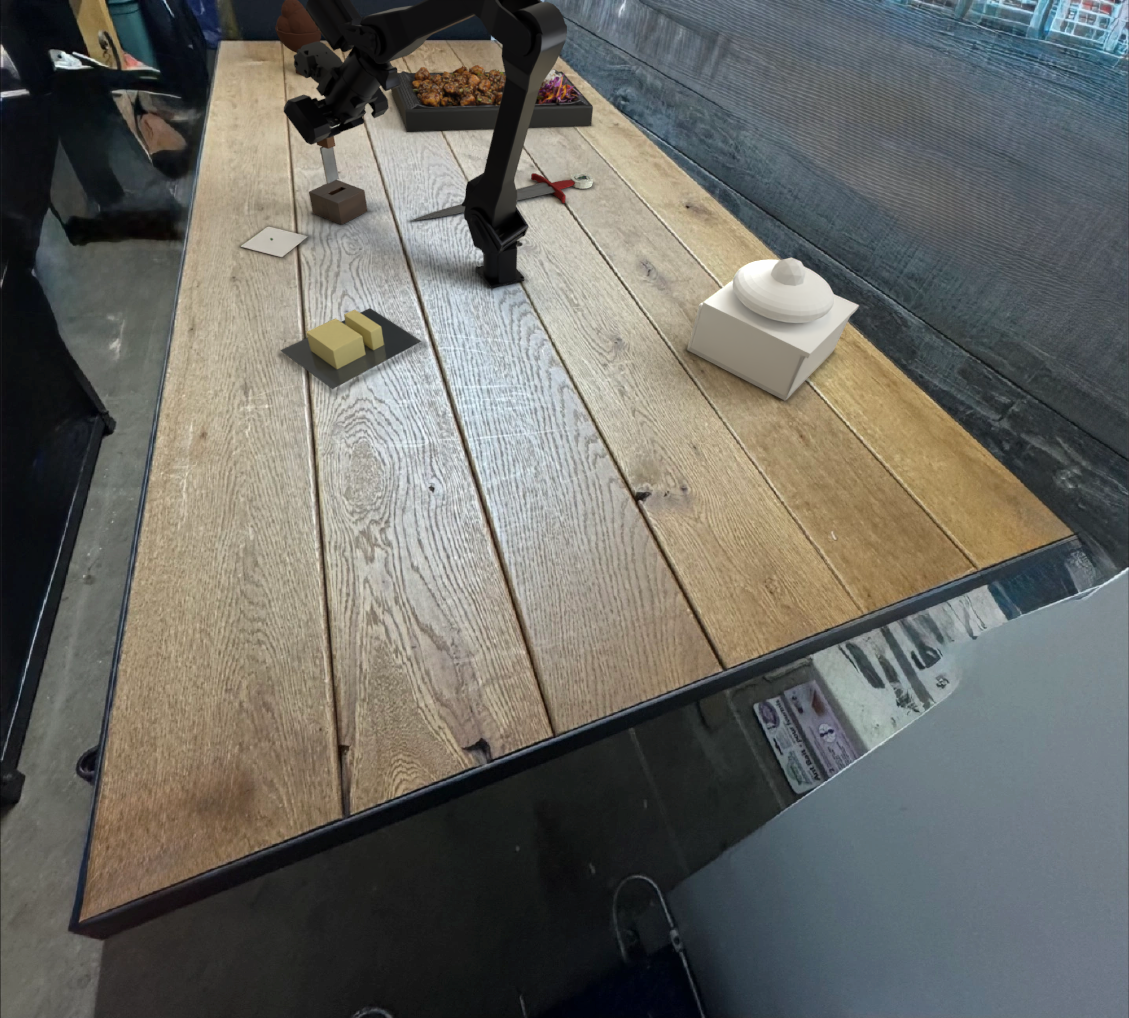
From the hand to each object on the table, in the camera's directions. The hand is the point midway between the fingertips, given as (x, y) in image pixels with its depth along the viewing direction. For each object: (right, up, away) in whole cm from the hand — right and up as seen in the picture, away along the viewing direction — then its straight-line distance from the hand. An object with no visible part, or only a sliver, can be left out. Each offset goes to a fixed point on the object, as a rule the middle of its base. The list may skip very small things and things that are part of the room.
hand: (318, 136), depth 113 cm
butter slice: (+13, -39, -16) cm, 44 cm away
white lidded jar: (+74, -39, -8) cm, 84 cm away
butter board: (+11, -41, -17) cm, 46 cm away
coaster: (-8, -18, +1) cm, 20 cm away
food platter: (+24, +35, +50) cm, 66 cm away
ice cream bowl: (-25, +49, +57) cm, 79 cm away
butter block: (+10, -42, -19) cm, 47 cm away
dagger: (+31, -2, +19) cm, 36 cm away
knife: (+1, -5, +5) cm, 7 cm away
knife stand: (0, -9, +10) cm, 13 cm away
